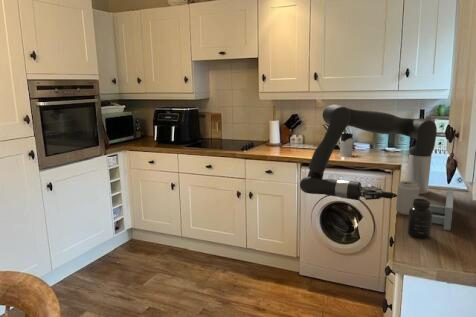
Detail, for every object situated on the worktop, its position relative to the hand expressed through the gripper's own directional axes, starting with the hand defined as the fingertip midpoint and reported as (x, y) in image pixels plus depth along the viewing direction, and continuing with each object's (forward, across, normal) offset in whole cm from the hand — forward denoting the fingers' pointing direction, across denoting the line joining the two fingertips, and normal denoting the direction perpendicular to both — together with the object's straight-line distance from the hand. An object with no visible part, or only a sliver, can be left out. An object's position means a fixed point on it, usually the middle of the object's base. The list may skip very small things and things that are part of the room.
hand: (393, 195), depth 144 cm
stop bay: (+16, 0, +6) cm, 17 cm away
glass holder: (-46, +105, +6) cm, 115 cm away
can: (+5, 0, +6) cm, 8 cm away
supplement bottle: (+11, -22, +6) cm, 25 cm away
